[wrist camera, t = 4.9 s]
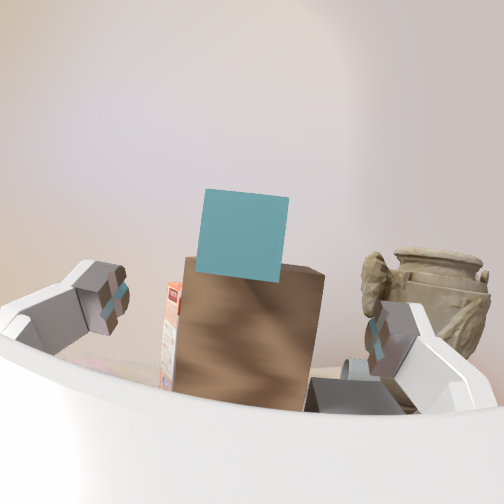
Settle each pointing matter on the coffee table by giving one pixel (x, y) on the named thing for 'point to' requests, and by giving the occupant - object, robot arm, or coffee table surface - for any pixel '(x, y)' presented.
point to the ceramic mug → (356, 370)
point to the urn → (431, 297)
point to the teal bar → (242, 235)
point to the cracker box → (170, 336)
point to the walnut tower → (248, 336)
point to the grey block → (350, 398)
